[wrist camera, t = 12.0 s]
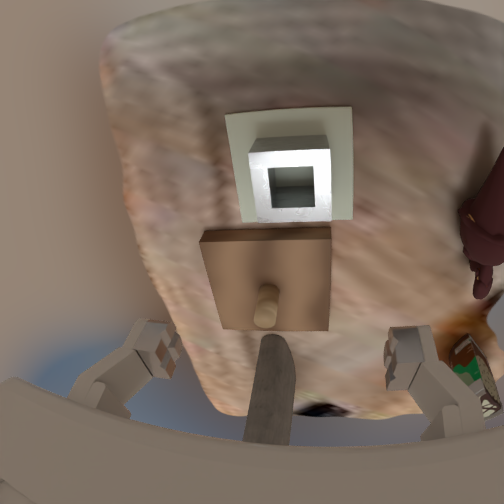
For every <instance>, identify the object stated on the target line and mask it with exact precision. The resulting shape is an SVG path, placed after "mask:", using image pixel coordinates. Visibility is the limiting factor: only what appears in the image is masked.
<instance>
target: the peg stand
mask: <svg viewBox="0 0 504 504" xmlns="http://www.w3.org/2000/svg"><path fill="white" fill-rule="evenodd" d="M199 245H200V248H201V252H202V256H203V260H204V264H205V267H206V271H207V275H208V278H209V282H210V285H211V289H212V293H213V296H214V300H215V303H216V307H217V310H218V314H219V317H220V321H221V324H222V327H223V329H232V330H261V331H328V327H329V309H330V285H331V229H330V227H321V228H280V229H248V230H220V231H205V232H204V234H203V235H202V237H201V239H200V241H199Z"/></svg>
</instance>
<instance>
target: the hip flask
mask: <svg viewBox="0 0 504 504" xmlns="http://www.w3.org/2000/svg"><path fill="white" fill-rule="evenodd" d="M295 381H296V375H295V367H294V362H293V358H292V355H291V352H290V349H289V347H288V345H287V343H286V341H285V339H284V338H283V337H281V336H279V335H274V334H271V335H266V336H264V337H263V338H262V339H261V345H260V350H259V356H258V361H257V367H256V372H255V378H254V383H253V389H252V394H251V399H250V405H249V410H248V415H247V420H246V426H245V431H244V436H243V442H252V443H261V444H273V445H287V446H289V441H290V431H291V423H292V413H293V403H294V393H295Z"/></svg>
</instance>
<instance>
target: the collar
mask: <svg viewBox="0 0 504 504" xmlns="http://www.w3.org/2000/svg"><path fill="white" fill-rule="evenodd" d="M248 157H249V164H250V171H251V178H252V185H253V192H254V199H255V206H256V214H257V221H258V223H274V222H312V221H332V202H331V160H330V147H329V143H328V139H327V135H303V136H283V137H268V138H256V140H255V141H254V143H253V145H252V147H251V149H250V150H249V152H248ZM299 166H313V170H314V185H313V186H284V187H277V186H276V177H275V168H277V167H299Z"/></svg>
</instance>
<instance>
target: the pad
mask: <svg viewBox="0 0 504 504" xmlns="http://www.w3.org/2000/svg"><path fill="white" fill-rule="evenodd" d="M225 121H226V127H227V133H228V139H229V145H230V151H231V157H232V163H233V169H234V175H235V181H236V187H237V193H238V199H239V205H240V211H241V217H242V223H244V222H258V221H257V214H256V206H255V199H254V192H253V185H252V178H251V171H250V164H249V157H248V152H249V150H250V149H251V147H252V145H253V143H254V141H255V140H256V138H268V137H283V136H303V135H327V139H328V143H329V147H330V160H331V202H332V220H353V124H352V107H308V108H289V109H274V110H262V111H252V112H242V113H233V114H226V115H225ZM275 177H276V186H277V187H284V186H313V185H314V170H313V166H299V167H277V168H275Z"/></svg>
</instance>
